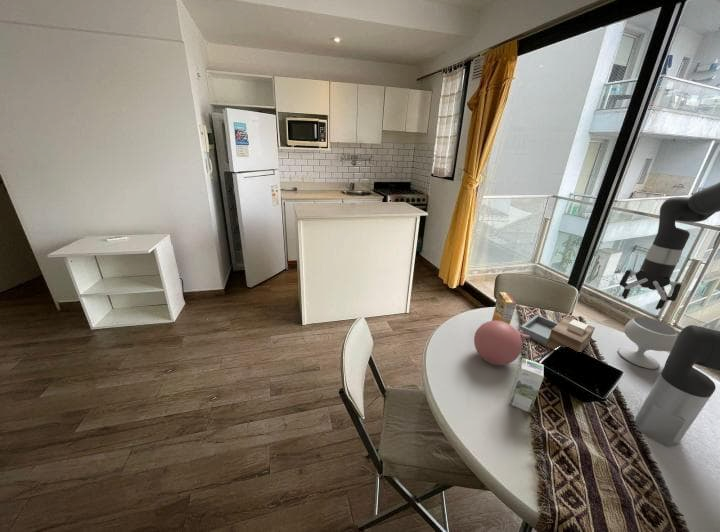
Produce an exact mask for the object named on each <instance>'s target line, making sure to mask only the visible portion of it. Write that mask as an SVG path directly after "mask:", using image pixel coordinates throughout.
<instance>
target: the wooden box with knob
mask: <svg viewBox="0 0 720 532" xmlns="http://www.w3.org/2000/svg"><path fill="white" fill-rule="evenodd" d="M573 319H574V318H572V317H569V316H565V317H564V318H563V319H561V321H559V322H557V323H558V324H557V325H556V326H555V327H554V328H553V329H552V330H551V333H550V336H549V339H548V341H547V344H546V346H545V347H547V348H549V349H551V350H554V349H555V348H557V347H559V346H562V347H563V348H564V347H569V348H571V349H573V350H575V351H577V352H581V353H582V352H584V350H585V349H586V348H587V346H588V345H589V342H590V341H591V338H592V336H593V333H594V331H595V329H596V327H594V326H593V325H590V324H587V325H588V328H587V330H586V331H585V332H584V334H583V335H581V334H578V333H576V332H574V331H571V330H569V329H567V328H568V325H569V323H570V322H571V321H572V320H573ZM574 320H576V319H574ZM578 321H579V320H578ZM579 322H581V321H579ZM583 323H584V322H583ZM584 324H586V323H584ZM554 351H555V350H554Z"/></svg>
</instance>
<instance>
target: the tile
mask: <svg viewBox="0 0 720 532" xmlns="http://www.w3.org/2000/svg"><path fill="white" fill-rule="evenodd" d="M572 319H573V320H572V321H571V322H570V323H569V325H568V328H567V329H569V330H571V331H574V332H576V333H578V334H581V335H583V334H584V332H585V331H586V330H587V328H588V325H589V324H587V323H585V324H584V322H582V321H580V322H579V320H577V319H575V320H574V318H572Z"/></svg>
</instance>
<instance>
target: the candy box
mask: <svg viewBox="0 0 720 532" xmlns="http://www.w3.org/2000/svg"><path fill="white" fill-rule="evenodd" d="M495 303H496V304H495V308H494V311H493V315H492V317H491V321H502V322H505V323H507V324H509V325H511V322H512V318H513V316H514V312H515V309H516V305H517V302H516V301H515V300H514V298H513V297H512V295H510V293H509V292H501V291H499V292H498V296H497V299H496V302H495Z"/></svg>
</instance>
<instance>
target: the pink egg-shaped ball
mask: <svg viewBox="0 0 720 532" xmlns="http://www.w3.org/2000/svg"><path fill="white" fill-rule="evenodd" d="M527 339H528V340H529V339H530V336H529V335H525V334H524V333H523V331H522V330H520V329H518V330H516V328H515V327H513V326H512V325H511V324H510V325H509V324H507V323H505V322H502V321H492V320H490V321H487V322H484V323H482V324H481V325H480V326H479V327H478V328H477V330H476V332H475V333H474V338H473V343H474V347H475V350H476V352H477V354H478V355H479V356H480V357H481V358H482V359H483V360H484V361H486V362H487V363H489V364H492V365H495V366H505V365H510V364H511V363H513V362H515V360H517V359H518V357H519V356H520V354H521V351H522V347H523V343H524V342H525V340H527Z"/></svg>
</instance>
